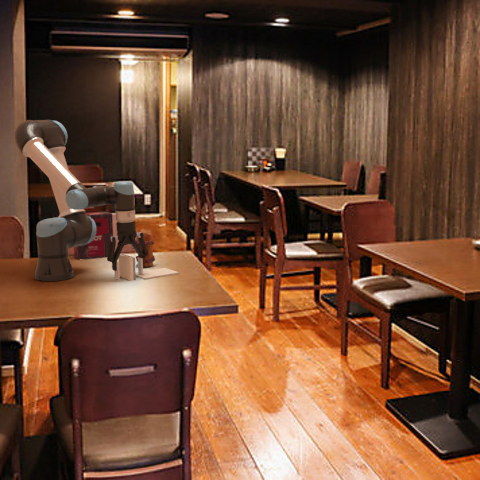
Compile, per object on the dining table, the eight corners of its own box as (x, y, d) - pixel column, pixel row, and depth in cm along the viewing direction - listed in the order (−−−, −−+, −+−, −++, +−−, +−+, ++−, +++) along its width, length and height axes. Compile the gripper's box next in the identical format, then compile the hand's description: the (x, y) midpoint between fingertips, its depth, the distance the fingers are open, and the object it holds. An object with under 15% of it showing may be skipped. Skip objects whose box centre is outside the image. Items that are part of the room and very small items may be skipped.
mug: (156, 267, 283) (155, 233, 280) (137, 268, 281) (136, 233, 278) (152, 260, 297) (151, 227, 294) (134, 261, 295) (132, 228, 292)
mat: (131, 274, 270) (131, 273, 270) (164, 269, 280) (164, 267, 280) (145, 279, 262) (144, 278, 261) (179, 273, 271) (179, 272, 271)
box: (78, 259, 300) (75, 216, 296) (74, 256, 308) (72, 213, 304) (114, 256, 307) (112, 213, 303) (109, 253, 314) (107, 211, 311)
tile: (119, 276, 268) (118, 254, 266) (123, 275, 269) (122, 253, 267) (131, 280, 260) (130, 258, 258) (135, 280, 261) (135, 257, 260)
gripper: (104, 225, 251) (108, 282, 255) (155, 218, 265) (158, 272, 269) (95, 223, 257) (99, 279, 261) (145, 216, 270) (148, 269, 275)
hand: (129, 276), depth 265 cm, fingers open, 10 cm apart
